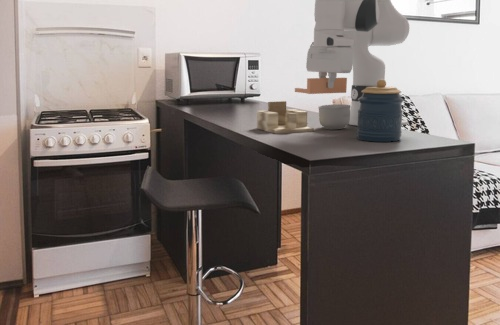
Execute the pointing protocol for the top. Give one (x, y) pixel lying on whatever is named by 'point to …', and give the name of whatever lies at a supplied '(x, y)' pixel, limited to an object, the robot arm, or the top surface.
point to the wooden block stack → (282, 119)
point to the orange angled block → (323, 86)
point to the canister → (380, 114)
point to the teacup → (334, 116)
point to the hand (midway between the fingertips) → (327, 87)
